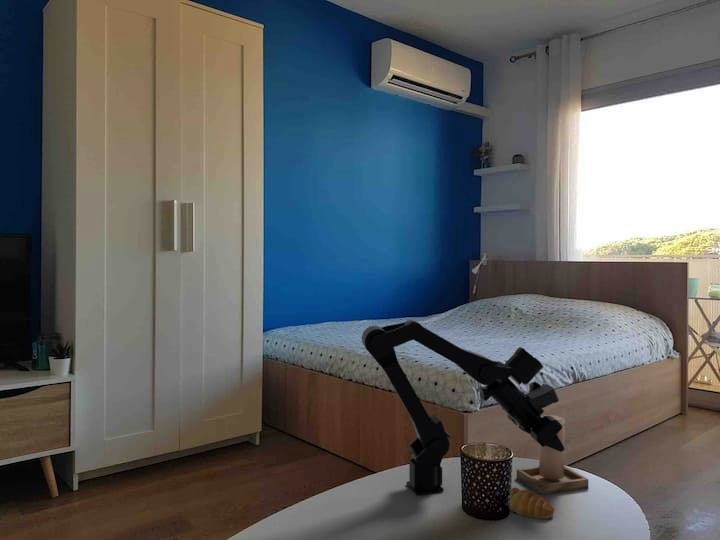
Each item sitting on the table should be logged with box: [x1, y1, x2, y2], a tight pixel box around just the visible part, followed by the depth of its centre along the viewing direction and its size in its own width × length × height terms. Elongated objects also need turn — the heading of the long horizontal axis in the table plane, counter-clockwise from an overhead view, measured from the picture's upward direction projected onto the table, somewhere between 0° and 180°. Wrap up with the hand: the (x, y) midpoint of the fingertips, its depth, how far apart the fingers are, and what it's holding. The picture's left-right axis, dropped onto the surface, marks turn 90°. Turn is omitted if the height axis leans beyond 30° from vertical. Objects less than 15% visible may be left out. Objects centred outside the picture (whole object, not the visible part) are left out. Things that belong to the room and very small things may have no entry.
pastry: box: [509, 487, 555, 520], centre depth 115 cm, size 9×7×4 cm
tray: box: [516, 465, 589, 496], centre depth 129 cm, size 12×10×2 cm
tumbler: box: [538, 414, 566, 479], centre depth 129 cm, size 6×6×13 cm
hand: (557, 446), depth 129 cm, fingers closed on tumbler, 5 cm apart
